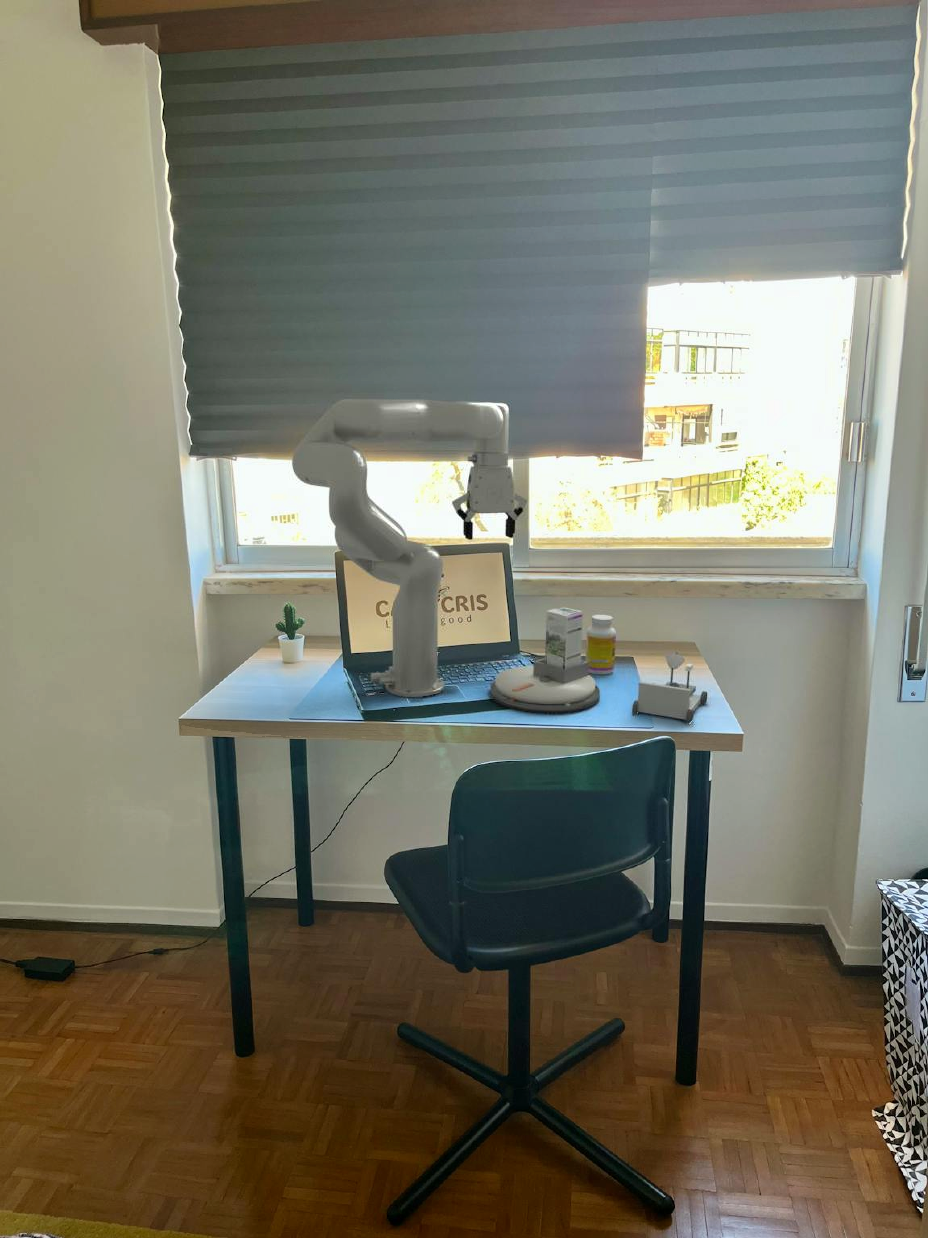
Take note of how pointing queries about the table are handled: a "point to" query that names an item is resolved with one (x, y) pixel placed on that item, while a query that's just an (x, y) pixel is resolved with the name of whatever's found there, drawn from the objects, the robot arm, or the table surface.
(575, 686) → the dial
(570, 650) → the syrup box
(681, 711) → the toy vehicle
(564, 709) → the base
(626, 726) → the table surface
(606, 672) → the supplement bottle
